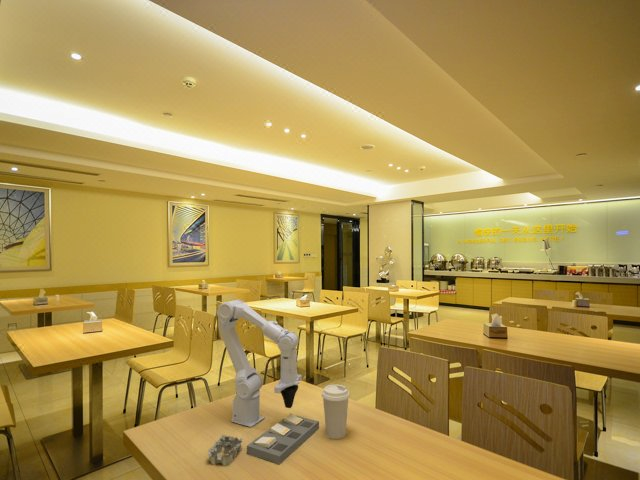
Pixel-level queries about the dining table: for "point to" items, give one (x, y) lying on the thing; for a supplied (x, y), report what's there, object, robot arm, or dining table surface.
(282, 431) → the rocker middle
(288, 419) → the labelled cream tile
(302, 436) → the grey rocker switch panel
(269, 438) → the rocker carton end
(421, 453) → the dining table surface
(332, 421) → the coffee cup
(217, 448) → the egg carton
